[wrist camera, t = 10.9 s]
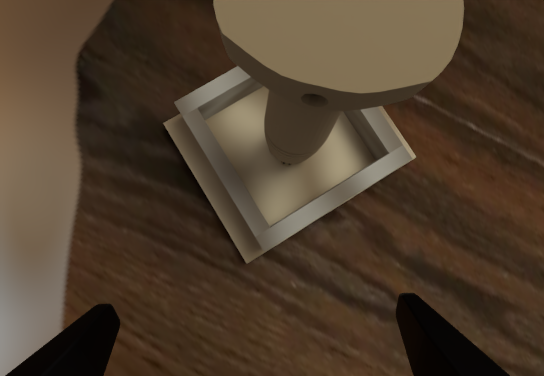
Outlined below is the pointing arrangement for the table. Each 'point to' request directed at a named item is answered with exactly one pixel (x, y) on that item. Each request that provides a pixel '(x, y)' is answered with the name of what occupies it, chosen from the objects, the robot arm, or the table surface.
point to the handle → (335, 58)
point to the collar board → (276, 161)
